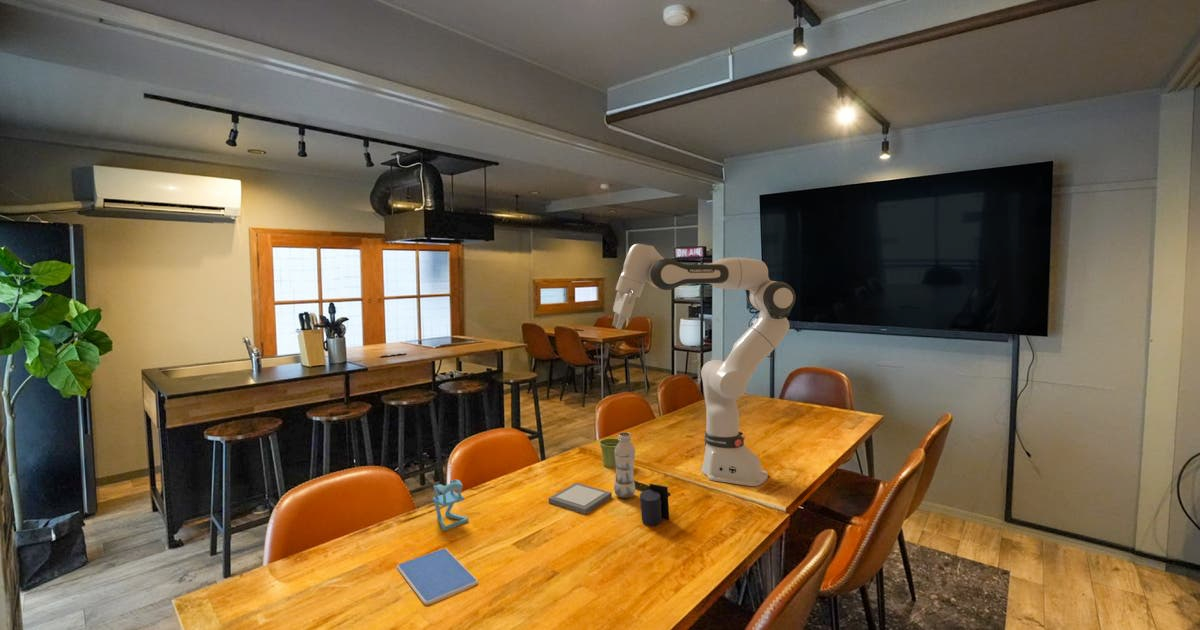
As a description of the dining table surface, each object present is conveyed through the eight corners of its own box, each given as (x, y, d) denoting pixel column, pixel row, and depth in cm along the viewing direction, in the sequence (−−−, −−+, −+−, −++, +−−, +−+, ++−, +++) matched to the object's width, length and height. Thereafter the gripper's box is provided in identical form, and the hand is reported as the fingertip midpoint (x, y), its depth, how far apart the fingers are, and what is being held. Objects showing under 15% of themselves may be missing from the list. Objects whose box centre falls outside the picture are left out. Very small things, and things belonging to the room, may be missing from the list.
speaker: (654, 512, 151) (653, 479, 149) (669, 519, 147) (668, 486, 145) (636, 523, 146) (635, 489, 144) (652, 531, 142) (651, 497, 140)
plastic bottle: (613, 492, 165) (612, 431, 164) (633, 491, 166) (633, 430, 164) (615, 501, 159) (614, 438, 157) (637, 500, 159) (636, 437, 158)
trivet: (611, 497, 162) (611, 492, 161) (585, 514, 150) (585, 509, 150) (576, 487, 170) (576, 482, 169) (548, 502, 158) (548, 497, 158)
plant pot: (625, 460, 193) (625, 438, 193) (624, 470, 184) (624, 446, 183) (600, 460, 194) (600, 437, 193) (598, 469, 185) (598, 446, 184)
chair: (454, 512, 152) (452, 473, 152) (468, 521, 147) (467, 480, 146) (429, 521, 147) (427, 480, 146) (443, 531, 141) (441, 488, 140)
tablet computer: (395, 569, 124) (395, 563, 124) (445, 551, 132) (445, 546, 132) (425, 609, 109) (425, 603, 109) (479, 586, 117) (479, 580, 117)
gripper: (643, 292, 163) (629, 333, 164) (633, 290, 184) (621, 327, 184) (624, 286, 163) (611, 327, 163) (616, 285, 183) (604, 322, 184)
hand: (616, 327), depth 174 cm, fingers open, 8 cm apart
